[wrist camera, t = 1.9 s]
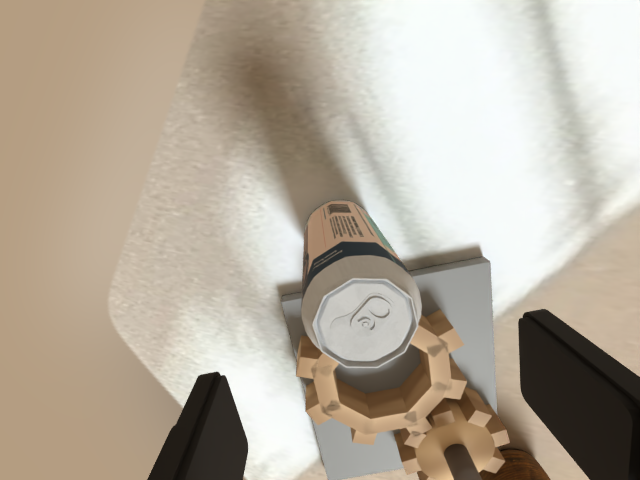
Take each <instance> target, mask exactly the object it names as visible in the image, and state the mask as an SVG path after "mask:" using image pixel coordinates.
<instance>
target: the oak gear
mask: <svg viewBox="0 0 640 480" xmlns="http://www.w3.org/2000/svg"><path fill="white" fill-rule="evenodd" d="M410 344H412V345H414V346H416V347H417V348H419V353H420V361H421V363H420V364H419V365H418V367H417V368H416V369H415V370H414V371H413V372H412V373H411V375H410V376H409V377H408V378H407V379H406V380H405V381H404V382H403V384H402V385H401V386H400V387H399V388H393V389H388V390H382V391H377V392H372V393H366V394H365V393H363V392H361V391H359V390H357V389H355V388H354V387H352V386H350V385H348V384H346V383H344V382H342V381H341V380H339V379H337V377H336V372H335V368H336V367H337V365H338V364H339V363H338V362H336V361H335V360H333V359H332V358H330V357H329V356H327V355H326V354H324V353H323V352H321V350H320V349H318V348H317V347H316V346H315V345H314V344H313V342H312V341H311V339H310V338H309V337H307V336H301V338H300V343H299V348H298V353H297V370H296V376H297V377H304V378H311V379H314V382H312V383H310V384H309V385H307V386H306V412H307V413H308V415H309V416H310V417H311V418H312V419H313V420H314V421H315V423H316V424H317V425H320V424H322V423H323V422H325V421H327V420H329V419H331V418H333V419H335V420H337V421H339V422H341V423H343V424H345V425H347V426H349V427H350V428H351V435H352V443H360V444H368V445H374V441H375V438H376V435H377V433H380V432H385V431H391V430H396V429H402V428H407V429H408V431H409V432H410V433H411V435H412V436H413V437H414V438H415V437H416V436H415V435H416V434H418V432H419V434H420V435H421V434H422V433H424V432H426V431H428V430H430V429H432V428H433V427H432V425H431V422H430V420H429V418H428V414H429V413H430V412H431V411H432V410H433V409H434V408H435V407H436V406H437V405H438V404H439V402H440V401H441V400H442V399H443V398H444V397H445V398H452V399H459V400H460V399H461V396H462V394H463V391H464V389H465V386H466V384H467V380H466V379H465V377H464V375H463V374H462V372H461V371H460V369H459V367H458V366H457V364H456V363H455V361H454V359H452V358H449V353H451V352H452V351H454V350H456V349H458V348H460V347H462V346H463V345H464V343H463V342H462V340H461V339H460V337H459V335H458V334H457V332H456V331H455V329H454V327H453V326H452V325H451V323H450V322H449V321H448V319H447V318H446V316H445V315H444V314H443V312H442V311H441V310H440V309H439V310H438V311H436V312H434V313H432V314H431V315H429V316H427V317H425V316H423V315H421V317H420V320H419V323H418V328H417V330H416V332H415V334H414V336H413V338H412V340H411V342H410ZM412 431H413V432H412ZM414 431H416V432H417V433H416V432H415V433H416V434H415V433H414ZM412 433H414V434H415V435H414V434H412ZM417 436H419V435H417Z"/></svg>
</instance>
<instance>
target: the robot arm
mask: <svg viewBox="0 0 640 480" xmlns="http://www.w3.org/2000/svg"><path fill="white" fill-rule="evenodd" d="M518 326H519V355H520V384H521V392H522V395H523V397H524V399H525V401H526V402H527V403H528V405H529V406H530V407H531V408H532V410H533V411H534V412H535V413H536V414H537V416H538V417H539V418H540V419H541V421H542V422H543V423H544V424H545V425H546V427H547V428H548V429H549V430H550V431H551V433H552V434H553V435H554V436H555V438H556V439H557V440H558V441H559V442H560V444H561V445H562V446H563V447H564V449H565V450H566V451H567V452H568V453H569V455H570V456H571V457H572V458H573V459H574V461H575V462H576V463H577V464H578V466H579V467H580V468H581V469H582V470H583V472H584V473H585V474H586V475H587V476H588V478H589V479H590V480H640V377H639V376H637V375H636V374H635V373H633V372H632V371H630V370H629V369H628V368H626V367H625V366H624V365H622V364H621V363H619V362H618V361H617V360H615V359H614V358H613V357H611V356H610V355H608V354H607V353H606V352H604V351H603V350H602V349H600V348H599V347H597V346H596V345H595V344H593V343H592V342H590V341H589V340H588V339H586V338H585V337H584V336H582V335H581V334H579V333H578V332H577V331H575V330H574V329H573V328H571V327H570V326H568V325H567V324H566V323H564V322H563V321H562V320H560V319H559V318H557V317H556V316H555V315H553V314H552V313H550V312H549V311H548V310H546V309H541V310H536V311H530V312H526V313H524V315H523V318H520V319H519V322H518ZM247 454H248V442H247V438H246V435H245V432H244V429H243V426H242V423H241V420H240V417H239V414H238V411H237V408H236V405H235V402H234V399H233V396H232V393H231V390H230V387H229V384H228V381H227V378H226V377H225V376H224V375H223V376H221V375H220V374H219V372H213V373H208V374H203V375H199V376H198V378H197V380H196V382H195V384H194V387H193V389H192V391H191V393H190V395H189V397H188V400H187V402H186V404H185V406H184V408H183V411H182V413H181V415H180V417H179V419H178V421H177V424H176V425H175V426H173V428H172V429H171V431H170V433H169V435H168V437H167V439H166V441H165V443H164V445H163V447H162V450H161V452H160V454H159V456H158V458H157V460H156V462H155V464H154V467H153V469H152V471H151V473H150V475H149V477H148V479H147V480H243V475H244V470H245V465H246V460H247Z"/></svg>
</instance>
